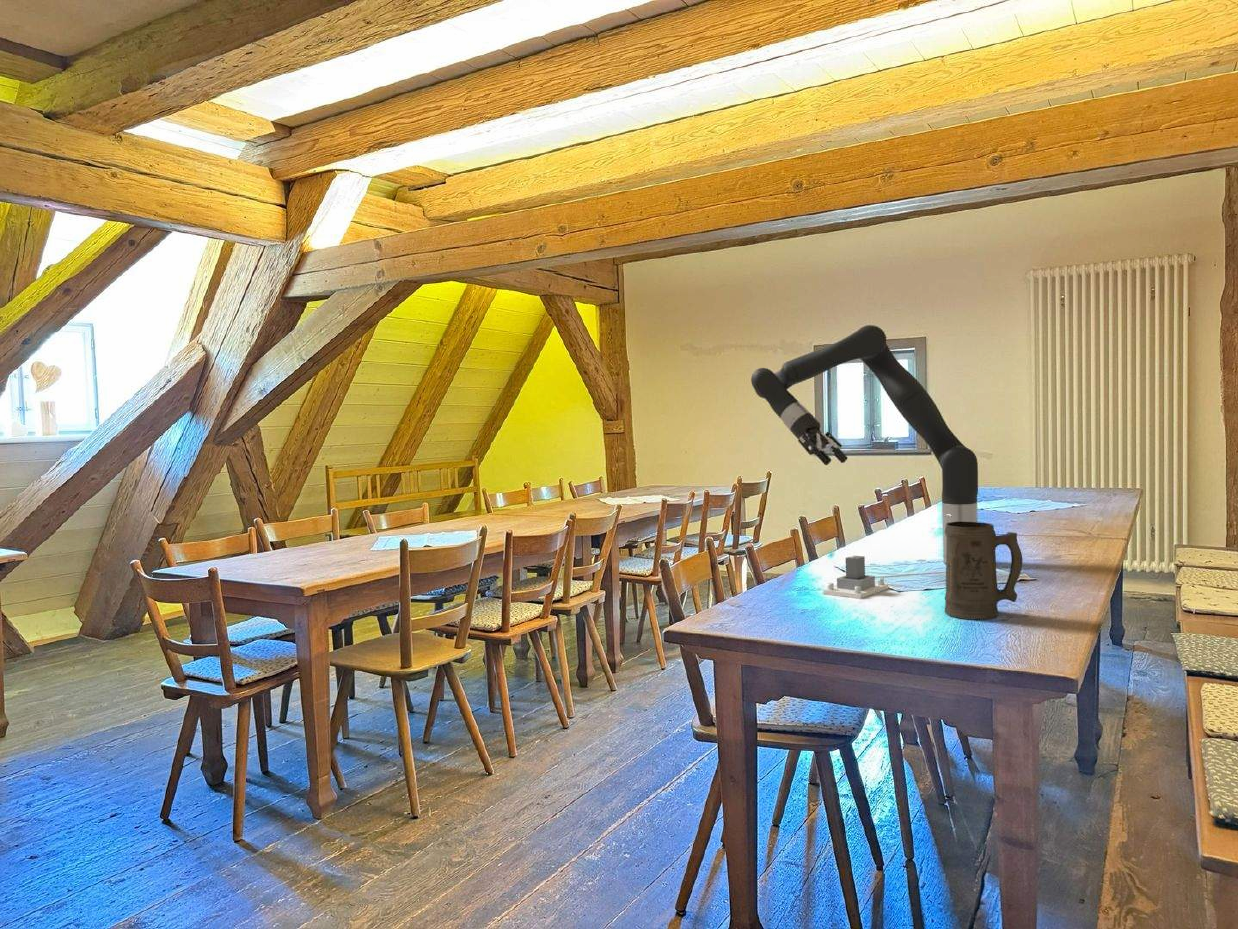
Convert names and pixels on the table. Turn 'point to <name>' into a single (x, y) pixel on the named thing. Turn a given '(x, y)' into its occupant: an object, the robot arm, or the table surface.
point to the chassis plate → (856, 587)
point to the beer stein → (977, 570)
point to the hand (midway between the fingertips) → (837, 461)
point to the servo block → (855, 567)
